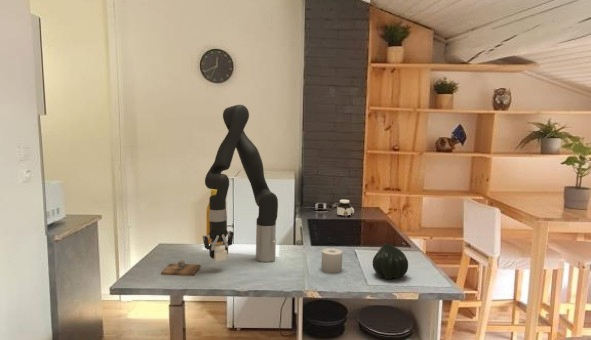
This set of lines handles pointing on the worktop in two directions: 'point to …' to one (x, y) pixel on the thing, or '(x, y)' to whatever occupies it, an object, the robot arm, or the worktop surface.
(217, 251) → the knob
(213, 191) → the beer bottle
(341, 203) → the spread jar
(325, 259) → the toilet tissue
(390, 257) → the squash
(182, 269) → the plate
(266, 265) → the worktop surface
